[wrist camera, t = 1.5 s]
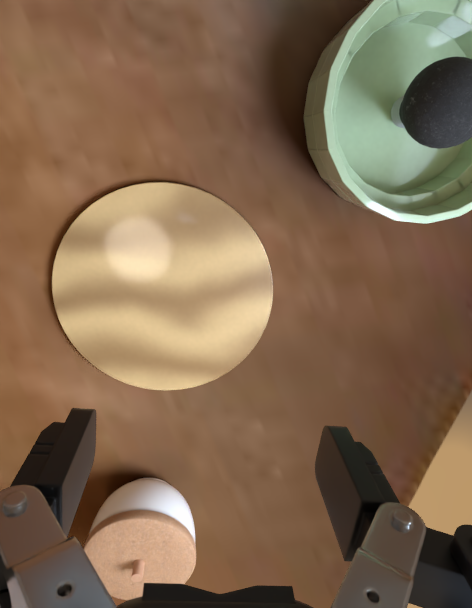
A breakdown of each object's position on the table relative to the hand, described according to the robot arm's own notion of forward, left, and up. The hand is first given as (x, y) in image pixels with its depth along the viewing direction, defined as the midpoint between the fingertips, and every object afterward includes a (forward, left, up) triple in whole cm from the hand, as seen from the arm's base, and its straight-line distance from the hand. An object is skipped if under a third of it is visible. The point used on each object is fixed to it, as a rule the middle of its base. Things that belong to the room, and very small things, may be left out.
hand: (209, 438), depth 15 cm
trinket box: (+25, -12, -26) cm, 38 cm away
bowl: (-9, +19, -26) cm, 33 cm away
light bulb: (-9, +19, -25) cm, 33 cm away
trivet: (+2, -4, -26) cm, 26 cm away
